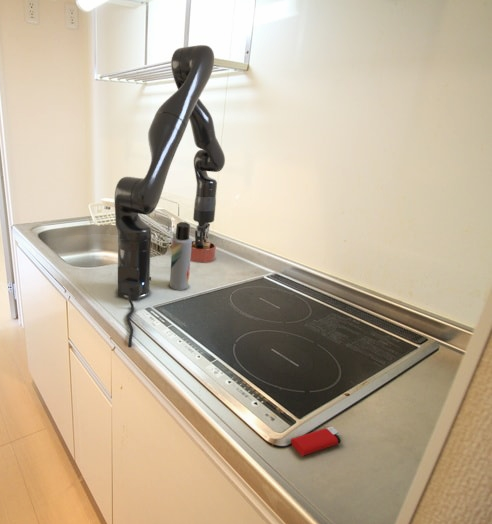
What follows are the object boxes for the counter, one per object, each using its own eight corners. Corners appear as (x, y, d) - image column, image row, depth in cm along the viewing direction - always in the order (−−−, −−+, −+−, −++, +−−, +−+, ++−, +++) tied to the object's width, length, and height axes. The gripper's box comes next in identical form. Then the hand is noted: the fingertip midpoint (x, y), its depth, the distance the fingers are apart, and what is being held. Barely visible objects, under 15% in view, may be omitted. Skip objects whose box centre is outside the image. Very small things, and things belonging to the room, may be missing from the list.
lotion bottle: (187, 283, 114) (192, 221, 107) (188, 290, 109) (193, 226, 102) (169, 282, 114) (173, 220, 107) (169, 289, 109) (173, 225, 102)
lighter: (291, 436, 57) (331, 424, 59) (290, 442, 57) (329, 430, 60) (304, 451, 54) (345, 437, 57) (303, 457, 55) (343, 443, 57)
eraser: (209, 253, 137) (210, 242, 136) (207, 256, 134) (208, 245, 132) (194, 250, 139) (195, 240, 138) (191, 253, 136) (192, 243, 134)
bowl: (211, 264, 131) (212, 251, 129) (182, 259, 134) (183, 246, 132) (216, 255, 140) (218, 242, 138) (190, 251, 143) (191, 239, 142)
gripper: (199, 203, 138) (195, 246, 144) (189, 210, 125) (185, 257, 131) (218, 205, 135) (214, 249, 141) (211, 213, 123) (206, 260, 129)
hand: (200, 252), depth 136 cm, fingers closed on eraser, 4 cm apart
